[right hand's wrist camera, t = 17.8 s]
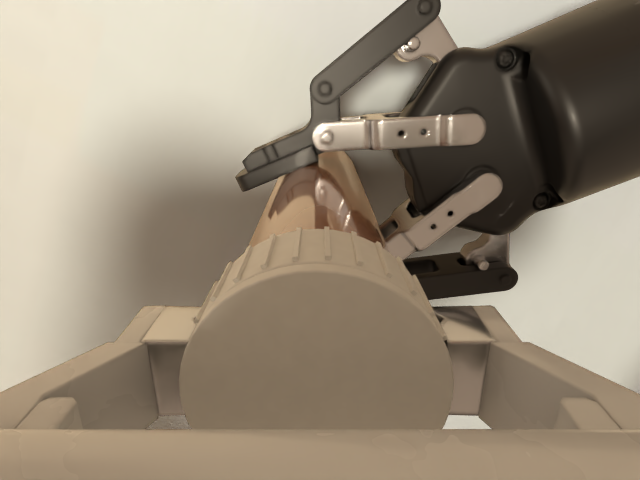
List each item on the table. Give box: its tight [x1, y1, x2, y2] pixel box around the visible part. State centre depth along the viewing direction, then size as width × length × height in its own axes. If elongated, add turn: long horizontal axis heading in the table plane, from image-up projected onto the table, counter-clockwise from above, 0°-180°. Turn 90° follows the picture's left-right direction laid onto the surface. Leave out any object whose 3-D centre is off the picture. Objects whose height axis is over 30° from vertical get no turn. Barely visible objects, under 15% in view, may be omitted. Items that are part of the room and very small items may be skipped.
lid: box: [179, 226, 454, 429], centre depth 9 cm, size 5×5×2 cm
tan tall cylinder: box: [248, 151, 390, 253], centre depth 18 cm, size 5×5×18 cm
